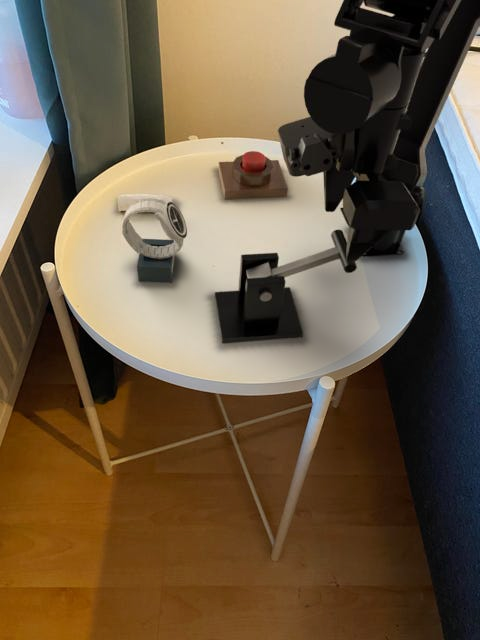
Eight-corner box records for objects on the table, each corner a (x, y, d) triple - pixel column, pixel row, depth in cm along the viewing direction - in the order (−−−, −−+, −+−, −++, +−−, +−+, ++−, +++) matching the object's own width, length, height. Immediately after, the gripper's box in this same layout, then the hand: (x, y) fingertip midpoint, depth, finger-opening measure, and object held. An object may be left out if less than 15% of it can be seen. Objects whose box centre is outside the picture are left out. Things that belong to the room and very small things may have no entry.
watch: (186, 285, 73) (184, 219, 65) (125, 283, 73) (116, 216, 65) (189, 257, 77) (187, 191, 69) (131, 254, 77) (123, 188, 68)
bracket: (288, 293, 73) (297, 242, 67) (301, 339, 68) (312, 289, 61) (214, 298, 72) (215, 247, 65) (221, 345, 67) (224, 295, 60)
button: (262, 160, 88) (263, 150, 87) (266, 173, 86) (267, 163, 85) (240, 161, 88) (241, 151, 87) (243, 174, 86) (244, 164, 84)
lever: (344, 238, 66) (340, 224, 64) (358, 273, 62) (355, 259, 60) (249, 271, 68) (243, 258, 66) (257, 307, 64) (251, 294, 62)
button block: (277, 168, 93) (279, 150, 90) (286, 197, 87) (289, 178, 85) (218, 170, 91) (219, 152, 89) (224, 199, 86) (225, 180, 83)
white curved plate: (122, 198, 85) (120, 182, 83) (174, 200, 85) (173, 184, 83) (119, 213, 82) (116, 197, 80) (172, 215, 83) (171, 199, 80)
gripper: (274, 53, 56) (256, 188, 67) (317, 142, 43) (285, 291, 54) (378, 59, 58) (343, 189, 68) (449, 146, 45) (392, 290, 55)
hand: (339, 234), depth 61 cm, fingers open, 9 cm apart
